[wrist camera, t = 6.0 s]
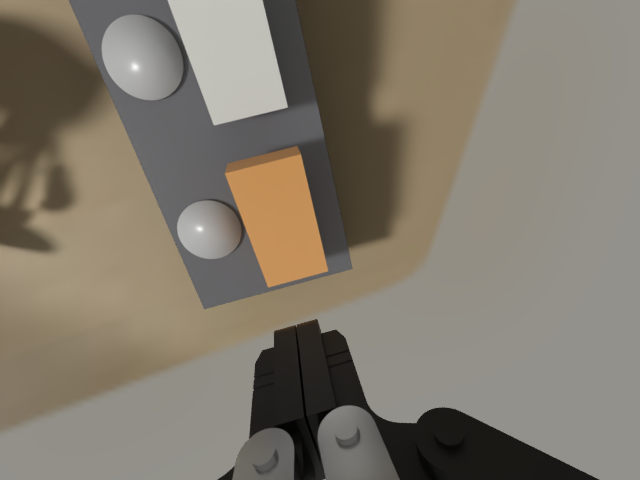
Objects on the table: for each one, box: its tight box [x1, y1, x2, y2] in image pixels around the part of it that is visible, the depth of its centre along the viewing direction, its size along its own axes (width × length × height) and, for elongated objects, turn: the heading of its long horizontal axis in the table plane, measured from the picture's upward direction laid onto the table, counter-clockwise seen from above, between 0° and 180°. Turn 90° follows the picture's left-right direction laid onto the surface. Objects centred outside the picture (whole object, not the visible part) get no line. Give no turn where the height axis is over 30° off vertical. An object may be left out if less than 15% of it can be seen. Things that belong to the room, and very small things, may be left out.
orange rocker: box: [225, 146, 328, 288], centre depth 17 cm, size 7×4×2 cm, turn 13°
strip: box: [69, 0, 352, 309], centre depth 16 cm, size 28×10×4 cm, turn 13°
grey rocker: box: [168, 0, 288, 125], centre depth 13 cm, size 7×4×2 cm, turn 13°
